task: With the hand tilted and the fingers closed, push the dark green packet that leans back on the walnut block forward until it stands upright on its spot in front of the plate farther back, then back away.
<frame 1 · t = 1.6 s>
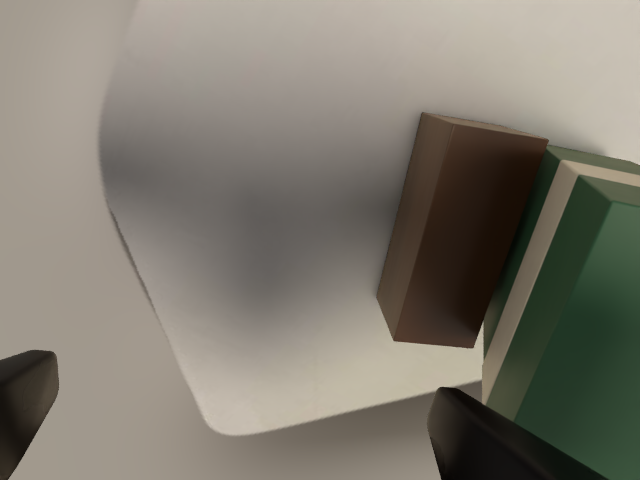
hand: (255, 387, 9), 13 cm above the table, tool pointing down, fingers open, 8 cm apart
packet: (573, 289, 16), point 7 cm above the table, hinge at -25.0°
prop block: (577, 237, 23), on the table
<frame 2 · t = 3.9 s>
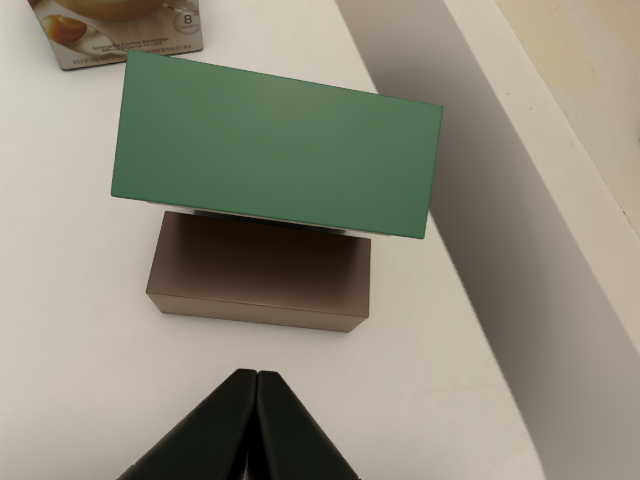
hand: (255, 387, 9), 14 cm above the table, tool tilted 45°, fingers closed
packet: (278, 173, 18), point 7 cm above the table, hinge at -25.0°
coffee box: (126, 29, 29), on the table
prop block: (279, 161, 26), on the table
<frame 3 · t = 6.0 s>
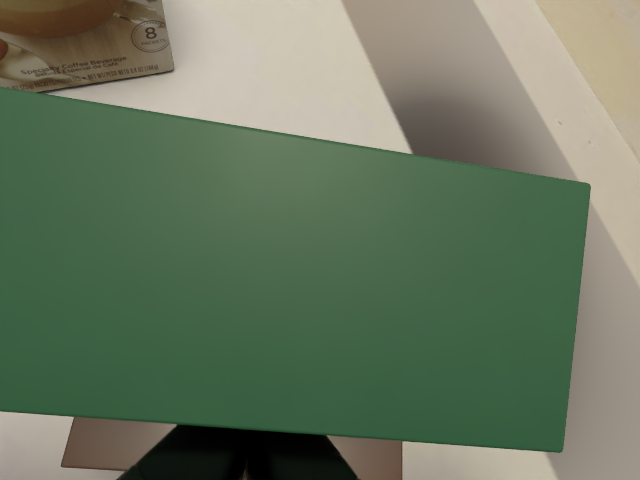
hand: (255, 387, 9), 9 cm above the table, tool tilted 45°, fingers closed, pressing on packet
packet: (268, 263, 12), point 7 cm above the table, hinge at -20.8°, touching gripper
coffee box: (75, 44, 22), on the table
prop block: (272, 221, 20), on the table
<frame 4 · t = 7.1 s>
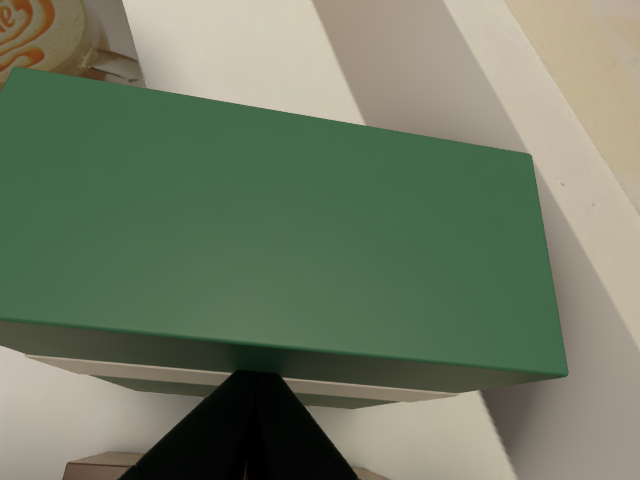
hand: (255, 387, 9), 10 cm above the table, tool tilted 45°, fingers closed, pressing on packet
packet: (261, 315, 12), point 6 cm above the table, hinge at 1.1°, touching gripper
coffee box: (56, 112, 21), on the table
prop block: (261, 305, 19), on the table
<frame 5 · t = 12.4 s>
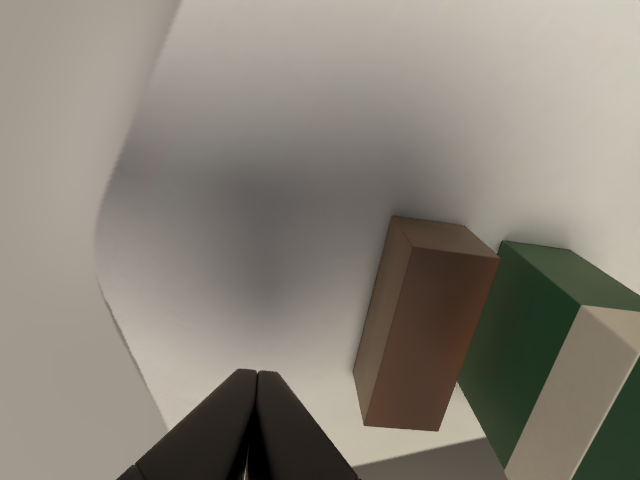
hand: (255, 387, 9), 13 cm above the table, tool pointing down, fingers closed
packet: (581, 399, 18), point 6 cm above the table, hinge at 0.2°
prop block: (540, 320, 24), on the table
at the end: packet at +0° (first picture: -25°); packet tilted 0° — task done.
